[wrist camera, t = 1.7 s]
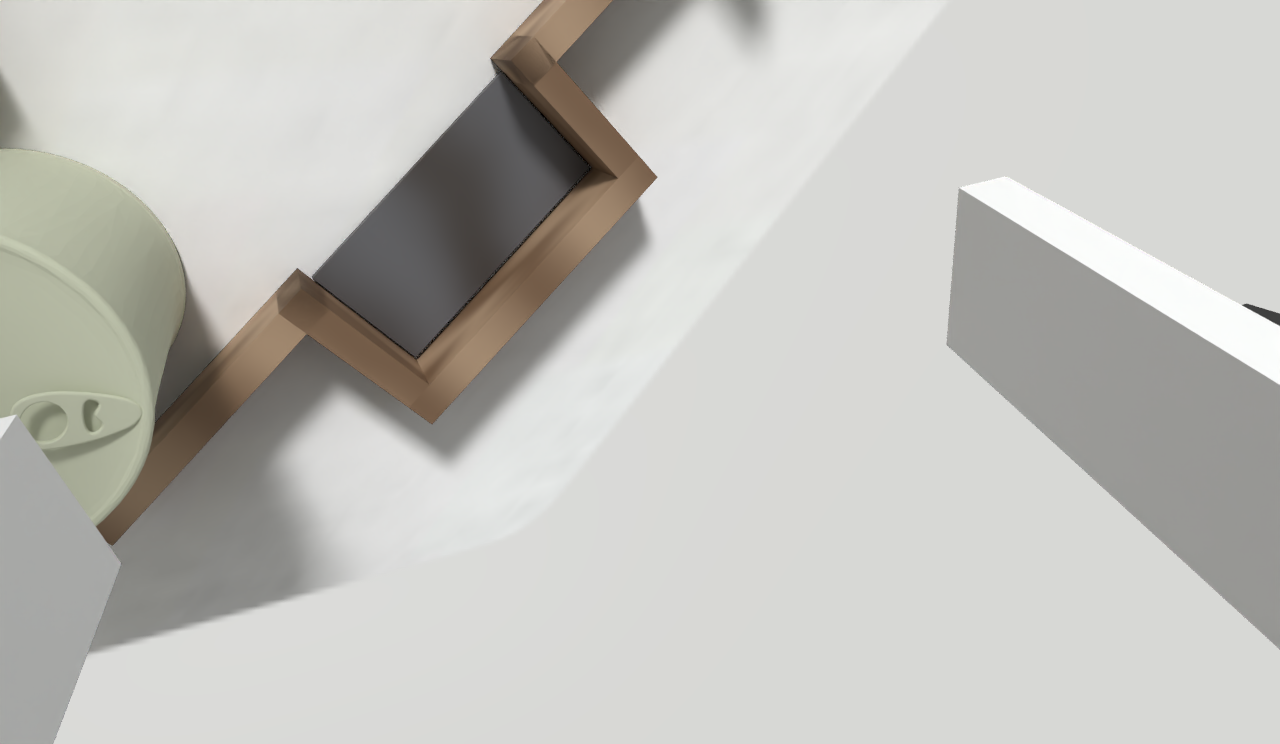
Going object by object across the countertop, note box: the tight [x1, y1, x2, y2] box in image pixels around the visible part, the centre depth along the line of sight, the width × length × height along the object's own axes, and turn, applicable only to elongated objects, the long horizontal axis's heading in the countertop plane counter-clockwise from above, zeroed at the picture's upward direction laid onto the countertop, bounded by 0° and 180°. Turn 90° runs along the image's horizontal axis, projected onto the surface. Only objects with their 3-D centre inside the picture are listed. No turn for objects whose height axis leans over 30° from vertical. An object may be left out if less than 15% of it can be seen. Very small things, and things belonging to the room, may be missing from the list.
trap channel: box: [96, 0, 657, 545], centre depth 27 cm, size 35×26×6 cm
